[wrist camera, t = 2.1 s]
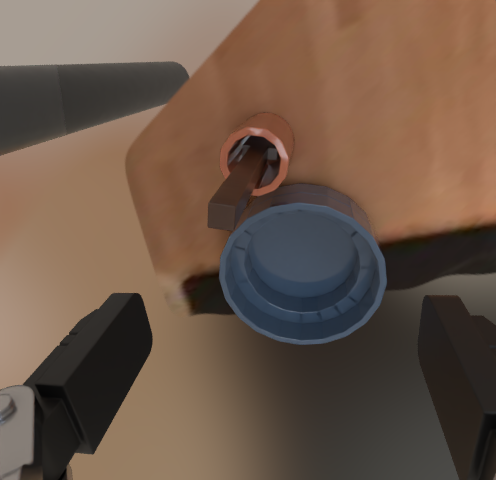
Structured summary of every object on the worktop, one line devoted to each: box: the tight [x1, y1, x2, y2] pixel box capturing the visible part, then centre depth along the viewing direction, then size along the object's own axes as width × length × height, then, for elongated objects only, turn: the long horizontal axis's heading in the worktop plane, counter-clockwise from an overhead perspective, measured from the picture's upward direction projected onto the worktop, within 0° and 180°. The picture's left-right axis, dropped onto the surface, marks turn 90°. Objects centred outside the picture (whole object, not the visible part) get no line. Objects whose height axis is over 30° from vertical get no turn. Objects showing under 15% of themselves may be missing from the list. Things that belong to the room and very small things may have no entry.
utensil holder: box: [220, 113, 294, 196], centre depth 31 cm, size 5×5×8 cm
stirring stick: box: [208, 136, 279, 231], centre depth 26 cm, size 3×1×18 cm, turn 85°
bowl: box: [219, 183, 387, 345], centre depth 37 cm, size 15×15×6 cm
